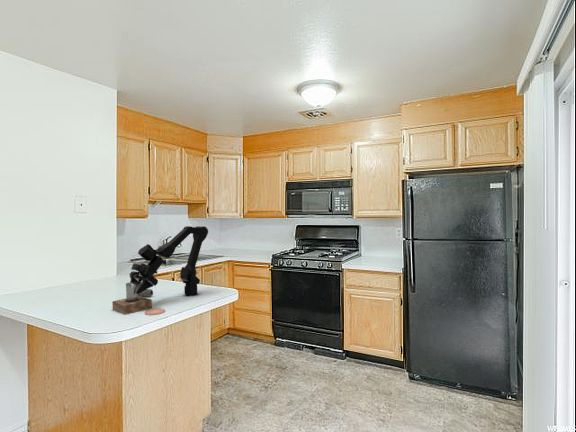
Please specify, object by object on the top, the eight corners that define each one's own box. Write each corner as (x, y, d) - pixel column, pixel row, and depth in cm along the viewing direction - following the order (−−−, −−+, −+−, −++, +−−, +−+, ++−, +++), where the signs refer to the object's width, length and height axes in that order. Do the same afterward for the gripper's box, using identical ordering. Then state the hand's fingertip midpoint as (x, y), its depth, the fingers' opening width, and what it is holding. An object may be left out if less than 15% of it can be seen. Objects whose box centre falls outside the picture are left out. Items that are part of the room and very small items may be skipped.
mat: (152, 308, 166) (152, 308, 166) (169, 309, 164) (169, 309, 164) (140, 314, 157) (140, 313, 157) (157, 315, 155) (157, 314, 155)
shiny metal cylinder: (138, 306, 170) (137, 281, 170) (137, 309, 166) (136, 283, 165) (127, 307, 169) (126, 282, 168) (126, 310, 164) (125, 284, 164)
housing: (138, 303, 176) (138, 295, 176) (151, 307, 168) (151, 299, 168) (112, 309, 166) (112, 301, 166) (125, 314, 158) (125, 305, 158)
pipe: (148, 298, 187) (148, 283, 187) (128, 297, 190) (127, 283, 189) (155, 295, 193) (154, 281, 193) (135, 294, 196) (134, 280, 195)
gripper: (132, 255, 177) (111, 280, 168) (151, 258, 165) (129, 285, 157) (147, 268, 183) (127, 293, 175) (166, 272, 171) (146, 298, 163)
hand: (132, 292), depth 167 cm, fingers open, 9 cm apart
